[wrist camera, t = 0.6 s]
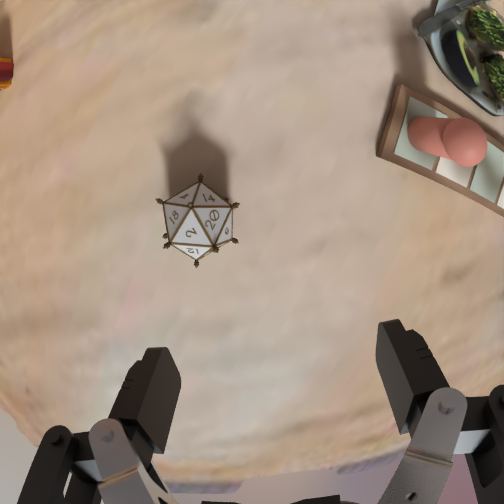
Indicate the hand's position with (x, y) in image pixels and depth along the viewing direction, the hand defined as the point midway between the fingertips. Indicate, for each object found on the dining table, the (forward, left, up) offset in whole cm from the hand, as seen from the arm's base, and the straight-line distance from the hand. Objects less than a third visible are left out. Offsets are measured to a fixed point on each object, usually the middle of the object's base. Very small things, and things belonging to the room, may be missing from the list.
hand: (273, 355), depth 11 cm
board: (-12, +24, -25) cm, 37 cm away
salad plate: (-28, +21, -26) cm, 43 cm away
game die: (+4, -6, -26) cm, 27 cm away
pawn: (-12, +15, -24) cm, 30 cm away
